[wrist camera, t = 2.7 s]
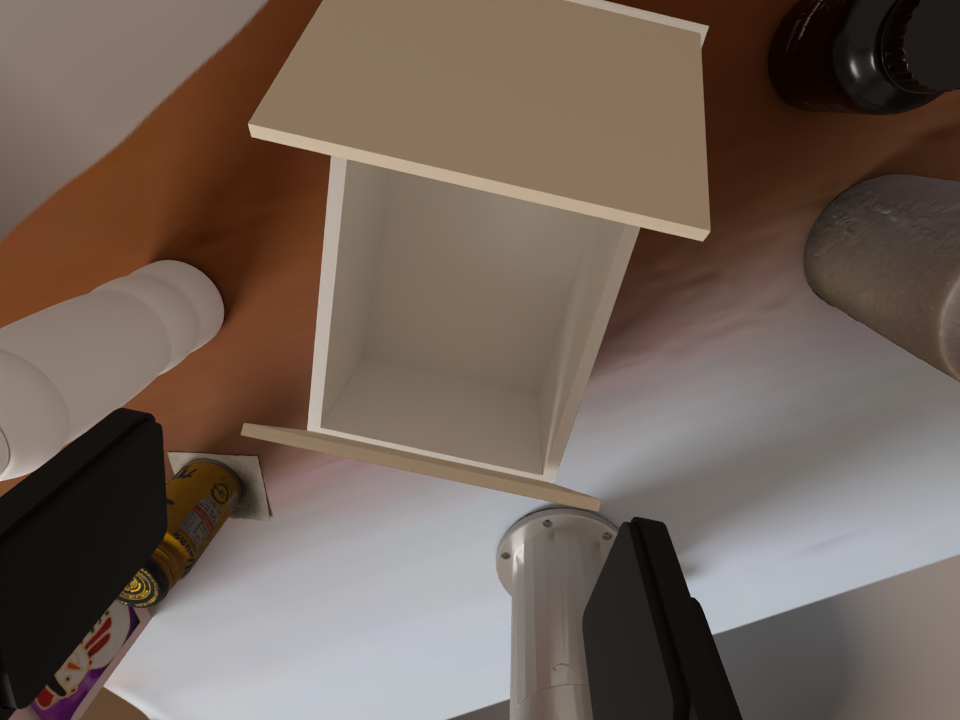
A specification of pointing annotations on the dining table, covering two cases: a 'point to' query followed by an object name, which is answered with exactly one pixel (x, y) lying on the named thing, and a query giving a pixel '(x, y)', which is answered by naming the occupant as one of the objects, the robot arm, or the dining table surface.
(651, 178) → the near flap
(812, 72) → the supplement bottle
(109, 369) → the water bottle
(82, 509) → the robot arm
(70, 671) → the greeting card
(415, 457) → the far flap
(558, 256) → the carton
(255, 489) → the condiment
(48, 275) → the dining table surface
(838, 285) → the pillar candle
